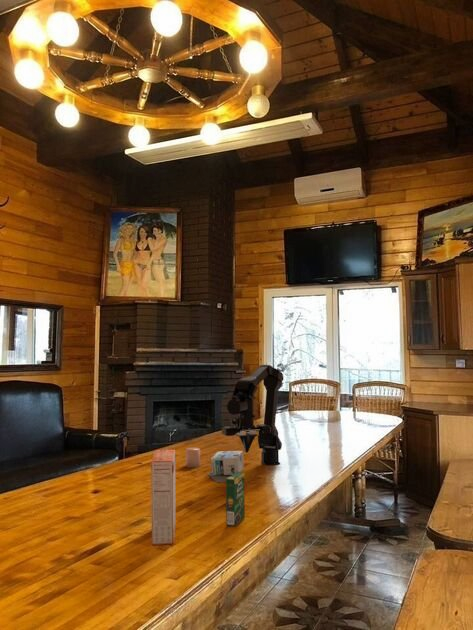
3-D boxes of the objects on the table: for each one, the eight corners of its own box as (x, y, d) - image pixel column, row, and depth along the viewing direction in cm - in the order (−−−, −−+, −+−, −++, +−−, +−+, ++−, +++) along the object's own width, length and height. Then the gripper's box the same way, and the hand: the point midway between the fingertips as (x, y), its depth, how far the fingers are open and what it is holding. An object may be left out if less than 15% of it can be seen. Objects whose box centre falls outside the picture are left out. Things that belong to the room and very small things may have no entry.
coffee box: (235, 527, 134) (234, 479, 135) (225, 526, 135) (225, 478, 136) (245, 518, 141) (245, 472, 142) (236, 517, 142) (235, 471, 143)
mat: (233, 471, 194) (233, 470, 194) (245, 479, 182) (245, 479, 182) (206, 474, 191) (206, 473, 191) (217, 482, 179) (217, 481, 179)
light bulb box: (237, 457, 186) (210, 458, 188) (239, 475, 185) (211, 475, 188) (243, 450, 196) (217, 451, 198) (244, 467, 196) (218, 467, 198)
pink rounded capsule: (197, 463, 209) (197, 447, 209) (201, 466, 203) (201, 449, 203) (184, 464, 206) (184, 448, 207) (187, 468, 201) (187, 450, 201)
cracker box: (154, 525, 136) (154, 449, 137) (176, 524, 136) (176, 448, 138) (149, 545, 122) (150, 460, 123) (173, 545, 122) (174, 460, 124)
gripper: (260, 408, 202) (260, 446, 201) (217, 410, 195) (217, 450, 194) (271, 411, 191) (271, 452, 190) (226, 413, 185) (226, 455, 184)
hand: (246, 452), depth 190 cm, fingers closed
